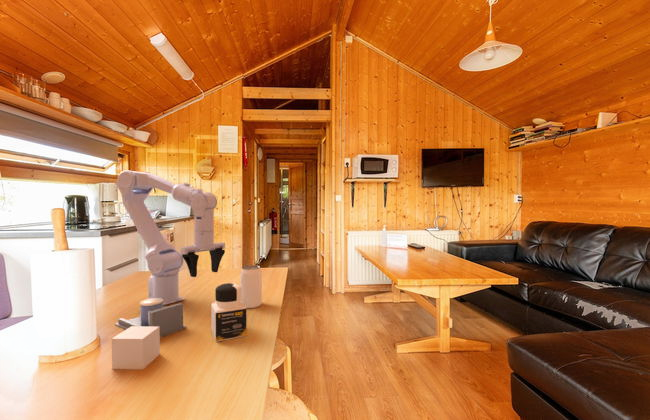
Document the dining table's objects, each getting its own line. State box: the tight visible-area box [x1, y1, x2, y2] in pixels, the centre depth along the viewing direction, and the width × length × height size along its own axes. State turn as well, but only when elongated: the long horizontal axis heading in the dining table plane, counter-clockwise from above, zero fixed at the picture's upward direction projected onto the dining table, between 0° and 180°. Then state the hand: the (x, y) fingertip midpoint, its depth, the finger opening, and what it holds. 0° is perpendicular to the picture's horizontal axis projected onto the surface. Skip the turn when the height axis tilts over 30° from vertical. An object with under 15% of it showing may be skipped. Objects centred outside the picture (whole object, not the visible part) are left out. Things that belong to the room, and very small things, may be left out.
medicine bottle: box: [210, 282, 248, 343], centre depth 76 cm, size 7×7×12 cm
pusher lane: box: [114, 302, 187, 338], centre depth 81 cm, size 17×9×6 cm, turn 57°
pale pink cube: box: [111, 326, 161, 370], centre depth 63 cm, size 6×6×6 cm
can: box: [239, 264, 263, 310], centre depth 98 cm, size 6×6×12 cm
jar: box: [139, 298, 164, 326], centre depth 80 cm, size 5×5×6 cm
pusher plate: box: [148, 305, 167, 327], centre depth 79 cm, size 1×4×4 cm, turn 148°
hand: (204, 274), depth 99 cm, fingers open, 7 cm apart
